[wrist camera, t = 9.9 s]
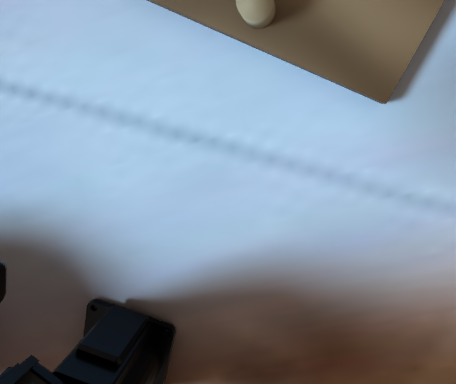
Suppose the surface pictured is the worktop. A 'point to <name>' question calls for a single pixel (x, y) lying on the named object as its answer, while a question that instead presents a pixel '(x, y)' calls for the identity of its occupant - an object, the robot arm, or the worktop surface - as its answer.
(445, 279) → the worktop surface
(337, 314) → the worktop surface
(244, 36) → the peg stand
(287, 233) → the worktop surface
